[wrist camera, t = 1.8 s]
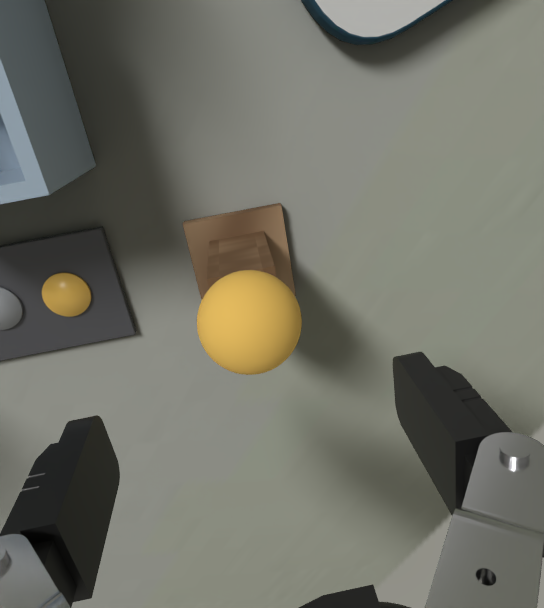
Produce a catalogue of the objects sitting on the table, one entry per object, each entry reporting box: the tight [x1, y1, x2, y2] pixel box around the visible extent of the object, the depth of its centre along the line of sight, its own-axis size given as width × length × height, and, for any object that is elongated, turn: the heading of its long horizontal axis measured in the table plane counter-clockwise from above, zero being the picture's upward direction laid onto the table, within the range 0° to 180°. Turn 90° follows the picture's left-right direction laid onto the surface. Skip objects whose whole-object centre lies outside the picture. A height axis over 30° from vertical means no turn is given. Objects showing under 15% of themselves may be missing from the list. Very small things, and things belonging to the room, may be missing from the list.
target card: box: [0, 227, 136, 361], centre depth 25 cm, size 9×6×1 cm, turn 100°
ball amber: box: [197, 270, 302, 375], centre depth 19 cm, size 4×4×4 cm
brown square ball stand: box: [183, 203, 296, 299], centre depth 23 cm, size 5×5×6 cm
